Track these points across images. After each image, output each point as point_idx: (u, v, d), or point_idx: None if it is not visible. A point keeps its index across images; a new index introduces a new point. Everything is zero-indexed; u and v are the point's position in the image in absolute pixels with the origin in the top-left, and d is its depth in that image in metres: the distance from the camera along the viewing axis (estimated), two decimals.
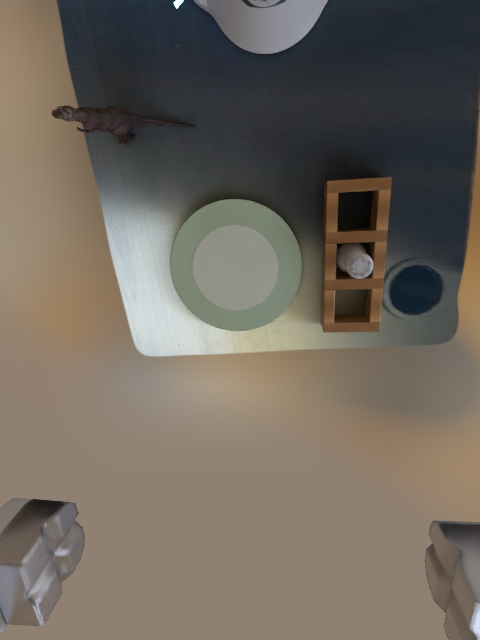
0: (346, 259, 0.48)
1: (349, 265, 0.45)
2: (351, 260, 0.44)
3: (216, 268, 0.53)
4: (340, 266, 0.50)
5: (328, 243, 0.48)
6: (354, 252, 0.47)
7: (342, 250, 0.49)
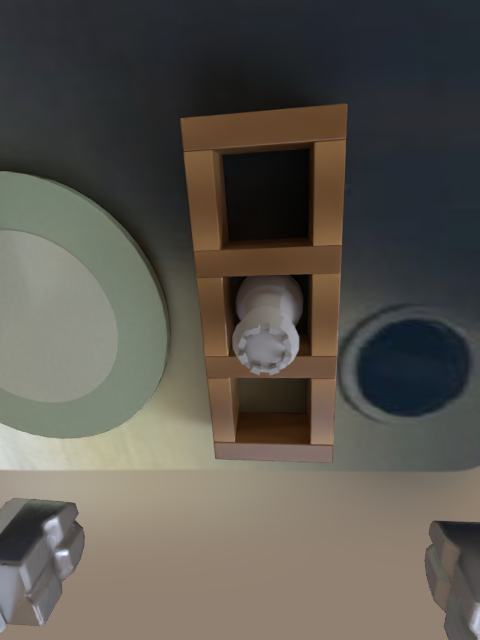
0: (246, 314, 0.20)
1: (236, 341, 0.17)
2: (239, 329, 0.17)
3: None
4: None
5: (202, 276, 0.20)
6: (263, 299, 0.20)
7: (244, 289, 0.22)
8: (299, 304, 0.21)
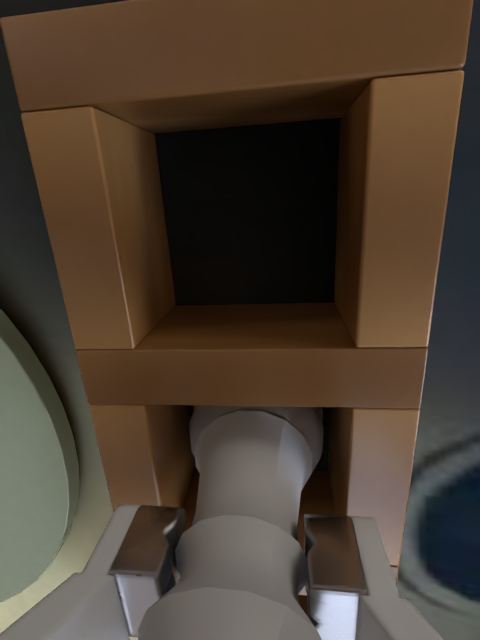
0: (198, 489, 0.09)
1: None
2: (151, 634, 0.06)
3: None
4: None
5: (101, 402, 0.09)
6: (237, 460, 0.08)
7: (203, 411, 0.10)
8: (316, 443, 0.10)
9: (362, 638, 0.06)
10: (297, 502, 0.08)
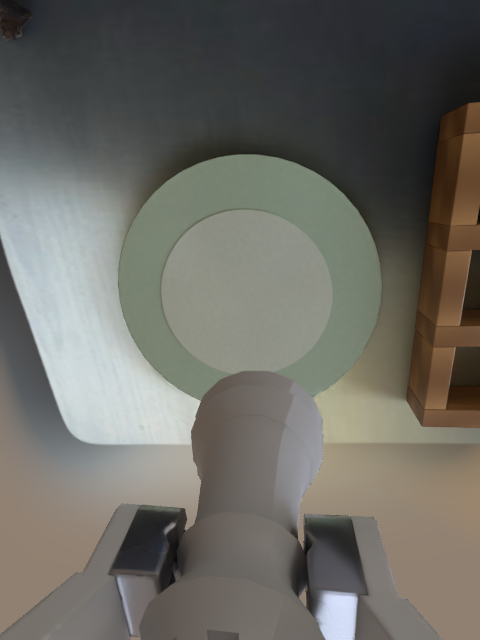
0: (200, 493, 0.09)
1: None
2: (153, 626, 0.06)
3: (207, 296, 0.27)
4: None
5: (453, 249, 0.22)
6: (237, 463, 0.09)
7: (204, 418, 0.11)
8: (316, 449, 0.11)
9: (361, 638, 0.06)
10: (297, 505, 0.09)
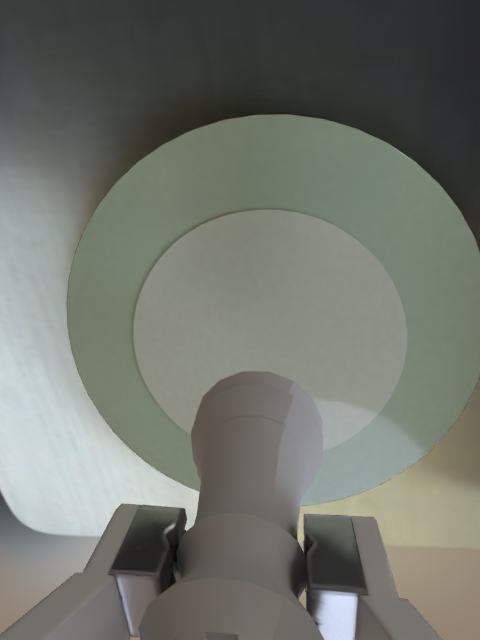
0: (200, 494, 0.09)
1: None
2: (152, 628, 0.06)
3: (205, 346, 0.17)
4: None
5: None
6: (237, 464, 0.09)
7: (204, 419, 0.11)
8: (316, 450, 0.11)
9: (361, 638, 0.06)
10: (297, 505, 0.09)
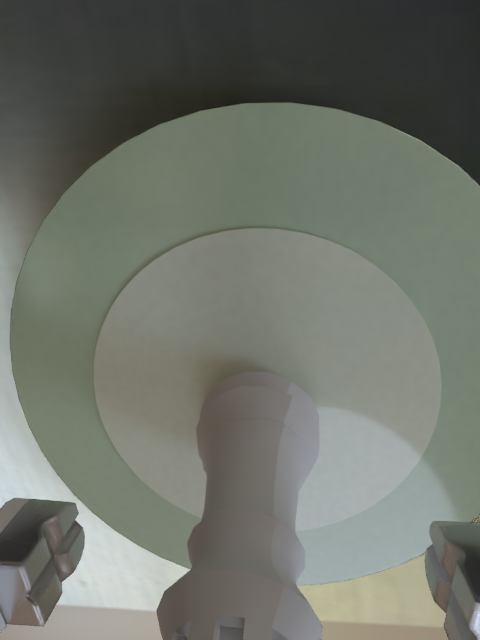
0: (206, 489, 0.10)
1: (163, 633, 0.07)
2: (169, 611, 0.07)
3: (184, 397, 0.14)
4: None
5: None
6: (240, 462, 0.09)
7: (209, 418, 0.11)
8: (313, 445, 0.11)
9: None
10: (295, 499, 0.09)
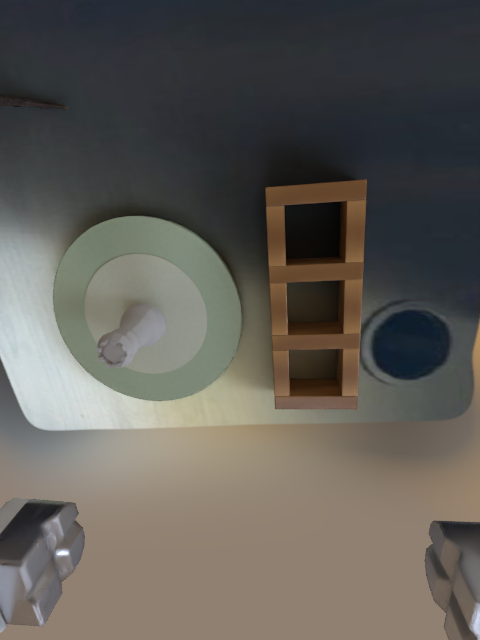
0: None
1: None
2: (99, 342, 0.29)
3: (118, 315, 0.36)
4: None
5: (273, 282, 0.31)
6: (126, 323, 0.32)
7: (122, 317, 0.34)
8: (156, 325, 0.34)
9: None
10: (142, 333, 0.32)
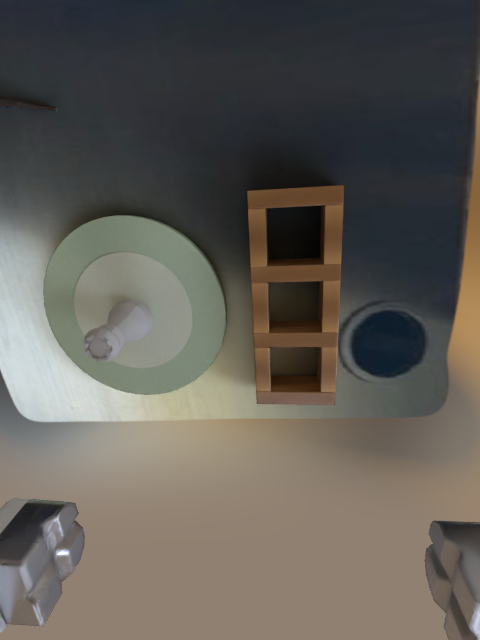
0: None
1: None
2: (85, 337, 0.30)
3: (107, 311, 0.38)
4: None
5: (255, 282, 0.32)
6: (113, 319, 0.33)
7: (110, 313, 0.35)
8: (143, 321, 0.35)
9: None
10: (128, 329, 0.33)
